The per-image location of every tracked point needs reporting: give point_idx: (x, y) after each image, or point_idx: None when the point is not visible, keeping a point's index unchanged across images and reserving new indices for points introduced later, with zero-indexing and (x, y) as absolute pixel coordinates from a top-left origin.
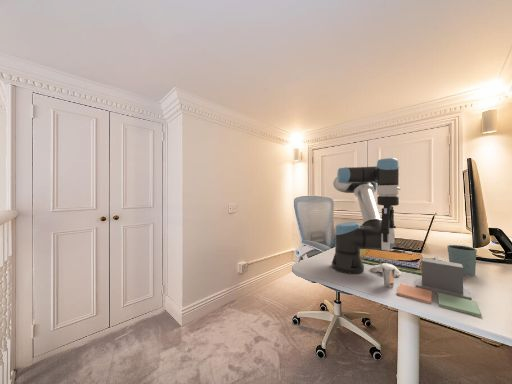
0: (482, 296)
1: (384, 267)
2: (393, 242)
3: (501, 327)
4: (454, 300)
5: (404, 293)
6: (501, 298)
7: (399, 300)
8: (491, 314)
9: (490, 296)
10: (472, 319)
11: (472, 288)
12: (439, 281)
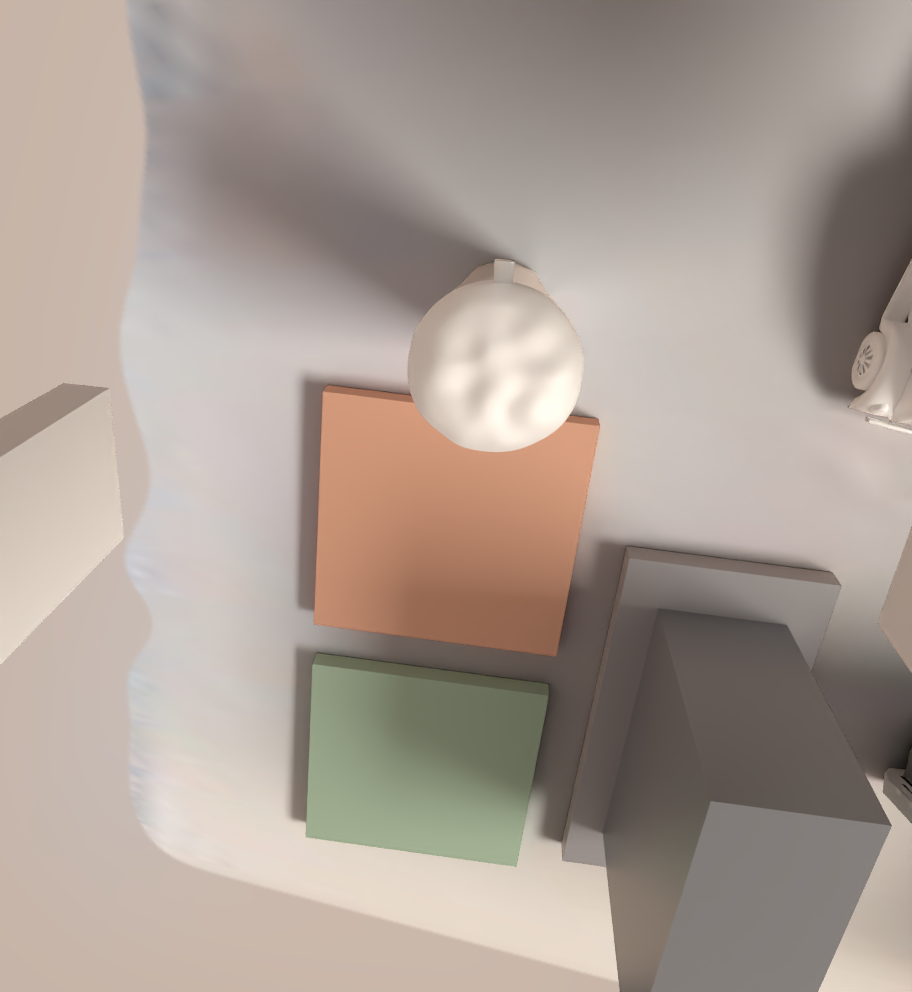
0: None
1: (423, 319)
2: (886, 636)
3: (243, 865)
4: (447, 760)
5: (345, 452)
6: None
7: (212, 400)
8: (393, 874)
9: None
10: (242, 777)
11: None
12: (638, 768)
